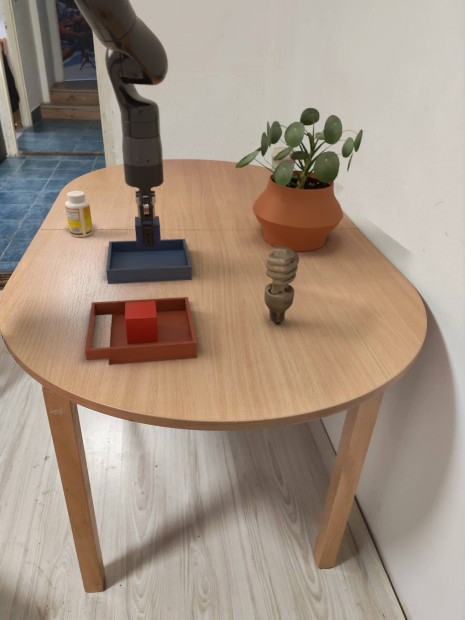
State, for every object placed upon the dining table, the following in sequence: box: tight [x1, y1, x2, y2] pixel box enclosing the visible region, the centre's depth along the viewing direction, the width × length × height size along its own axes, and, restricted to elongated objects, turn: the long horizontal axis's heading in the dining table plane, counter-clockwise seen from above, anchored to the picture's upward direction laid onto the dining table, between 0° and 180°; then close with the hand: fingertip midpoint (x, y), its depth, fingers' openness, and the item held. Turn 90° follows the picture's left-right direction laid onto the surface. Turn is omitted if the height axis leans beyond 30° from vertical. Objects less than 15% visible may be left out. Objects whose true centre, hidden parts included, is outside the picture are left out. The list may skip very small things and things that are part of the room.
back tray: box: [105, 238, 193, 285], centre depth 99 cm, size 17×14×3 cm
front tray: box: [84, 296, 198, 365], centre depth 77 cm, size 17×14×3 cm
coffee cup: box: [270, 146, 297, 175], centre depth 148 cm, size 8×8×12 cm
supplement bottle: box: [64, 190, 94, 238], centre depth 110 cm, size 6×6×10 cm
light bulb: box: [263, 246, 300, 325], centre depth 79 cm, size 6×6×15 cm
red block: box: [125, 301, 158, 343], centre depth 76 cm, size 5×5×5 cm
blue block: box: [134, 215, 162, 248], centre depth 95 cm, size 5×5×5 cm
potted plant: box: [235, 107, 364, 252], centre depth 107 cm, size 23×28×30 cm
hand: (148, 240), depth 96 cm, fingers closed on blue block, 5 cm apart
